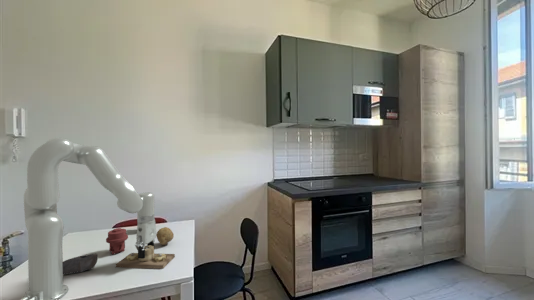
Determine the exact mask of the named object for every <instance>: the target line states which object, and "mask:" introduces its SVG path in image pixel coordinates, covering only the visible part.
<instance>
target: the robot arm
mask: <svg viewBox="0 0 534 300" xmlns="http://www.w3.org/2000/svg"><path fill="white" fill-rule="evenodd" d="M62 162H67V163H72V164H77V165H84V166H86V167H87V168H88V170H89V171H90V172H91V174H92V175H93V176H94V177H95V179H96V180H97V182H98V183H99V184H100V185H101V186H102V187H103V188H104V189H106V190H108V191H109V192H110V193H111V194H113V195H114V196H115V198H117V201H116V205H117V207H118V208H119V209H120V210H122V211H124V212H127V213H129V214H137V215H136V216H137V219H136V220H137V221H136V222H137V226H136V242H135V244H134V246H135V248H136V250H137V253H138V258H143V259H144V258H145V250H144V248H145V246H148V245H151V246H154V247H155V243H156V242H155V239H157V236H156V234H157V226H156V225H157V224H156V219H155V194H154V193H153V192H141V193H138V192H137V191H136V189H135V187H134V186H133V185H132V184H131V183H130V182H129V181H128V180H127V179H126V177H124V175H123V174H122V173H121V172H120V171H119V169H118V168H117V167H116V165H115V164H114V162H113V161H112V160H111V158H110V156H109V155H108V154H107V153H106V151H105V150H104V149H103V148H101V147H100V146H94V145H84V144H80V143H76V142H73V141H71V140H70V139H68V138H64V137H55V138H51V139H49V140H47V141H45V143H43V144H41V145H40V146H38V148H36V149H35V150H34V151H33V153H31V155H30V156H29V159H28V162H27V167H26V171H27V172H26V183H27V184H26V185H27V186H26V187H27V188H26V189H25V190H24V194H23V206H24V207H23V208H24V209H23V210H24V222H25V227H26V228H25V229H26V230H27V243H28V244H27V260H28V261H27V263H28V264H27V265H28V268H27V269H28V272H27V273H28V274H27V275H28V278H27V279H28V290H27V291H25V295H24V296H23V297H22V298H21V299H19V300H56V299H57V300H59V299H61V298H63V297H64V296H65V295H66V294H67V293H68V291H69V286H68V285H67V284H64V274H63V259H64V258H63V255H64V254H63V240H64V239H63V237H64V221H63V219H62V217H61V216H60V215H59V214H58V208H57V203H58V202H59V200H60V198H61V197H60V187H59V185H60V184H59V168H60V165H61V163H62Z"/></svg>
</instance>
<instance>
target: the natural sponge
mask: <svg viewBox="0 0 534 300" xmlns="http://www.w3.org/2000/svg"><path fill="white" fill-rule="evenodd" d="M156 239H157V241H158V243H159V245H162V246H165V245H167V244H168V243H170V242H171V241H172V240H173V239H174V232H173V230H172V229H171V228H170V227H166V226H164V227H161V228H159V229H158V230H157V231H156Z"/></svg>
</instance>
